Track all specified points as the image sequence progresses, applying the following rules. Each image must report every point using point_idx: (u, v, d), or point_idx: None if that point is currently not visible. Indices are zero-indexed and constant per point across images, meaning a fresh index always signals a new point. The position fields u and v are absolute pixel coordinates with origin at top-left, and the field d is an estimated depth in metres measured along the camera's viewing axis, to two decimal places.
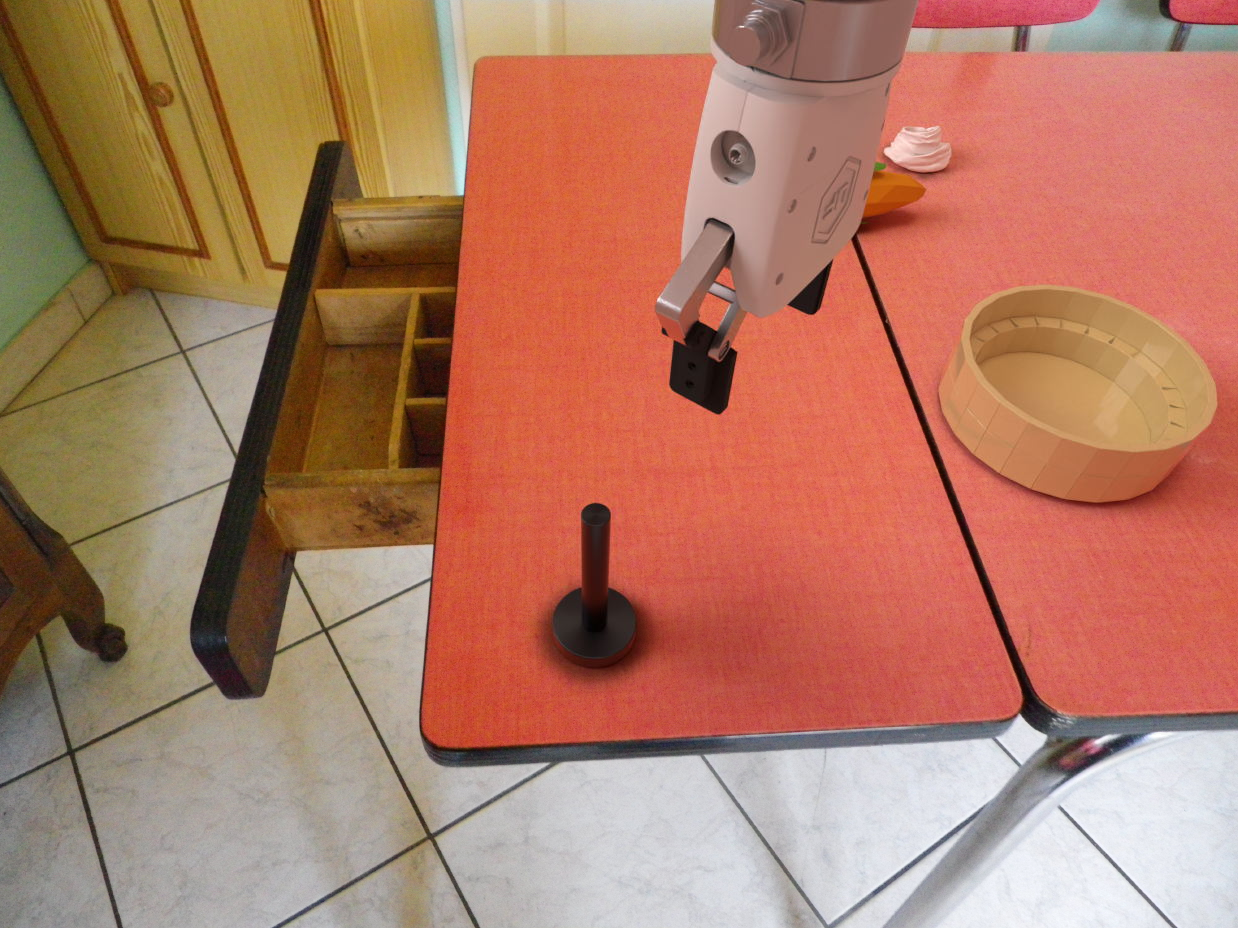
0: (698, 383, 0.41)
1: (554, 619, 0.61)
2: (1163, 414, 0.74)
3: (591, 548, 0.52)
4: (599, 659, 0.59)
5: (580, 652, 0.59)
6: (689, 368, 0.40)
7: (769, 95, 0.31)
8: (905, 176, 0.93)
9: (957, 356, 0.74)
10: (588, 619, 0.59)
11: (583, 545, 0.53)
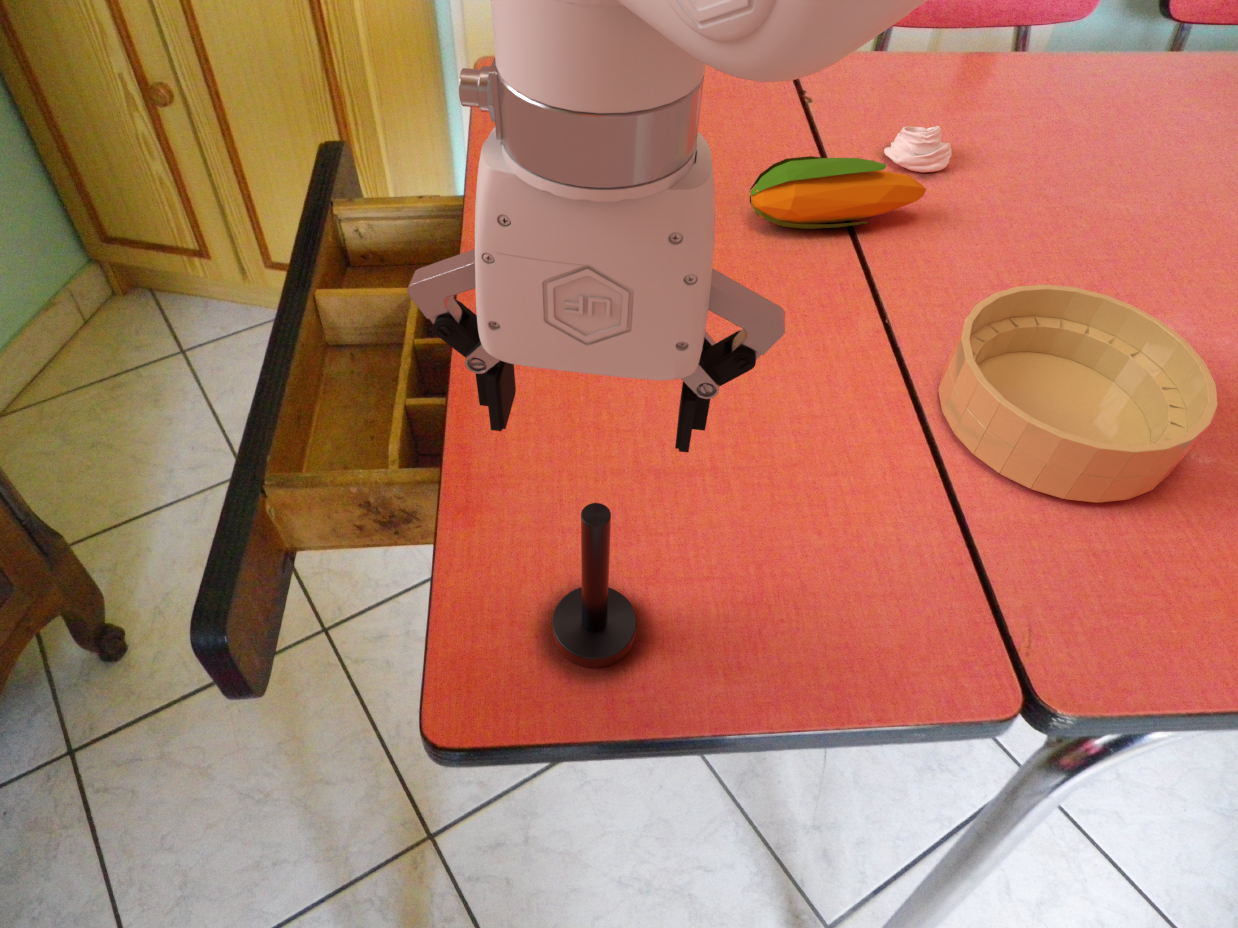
0: None
1: (554, 619, 0.61)
2: (1163, 414, 0.74)
3: (591, 548, 0.52)
4: (599, 659, 0.59)
5: (580, 652, 0.59)
6: None
7: (491, 147, 0.33)
8: (905, 176, 0.93)
9: (957, 356, 0.74)
10: (588, 619, 0.59)
11: (583, 545, 0.53)
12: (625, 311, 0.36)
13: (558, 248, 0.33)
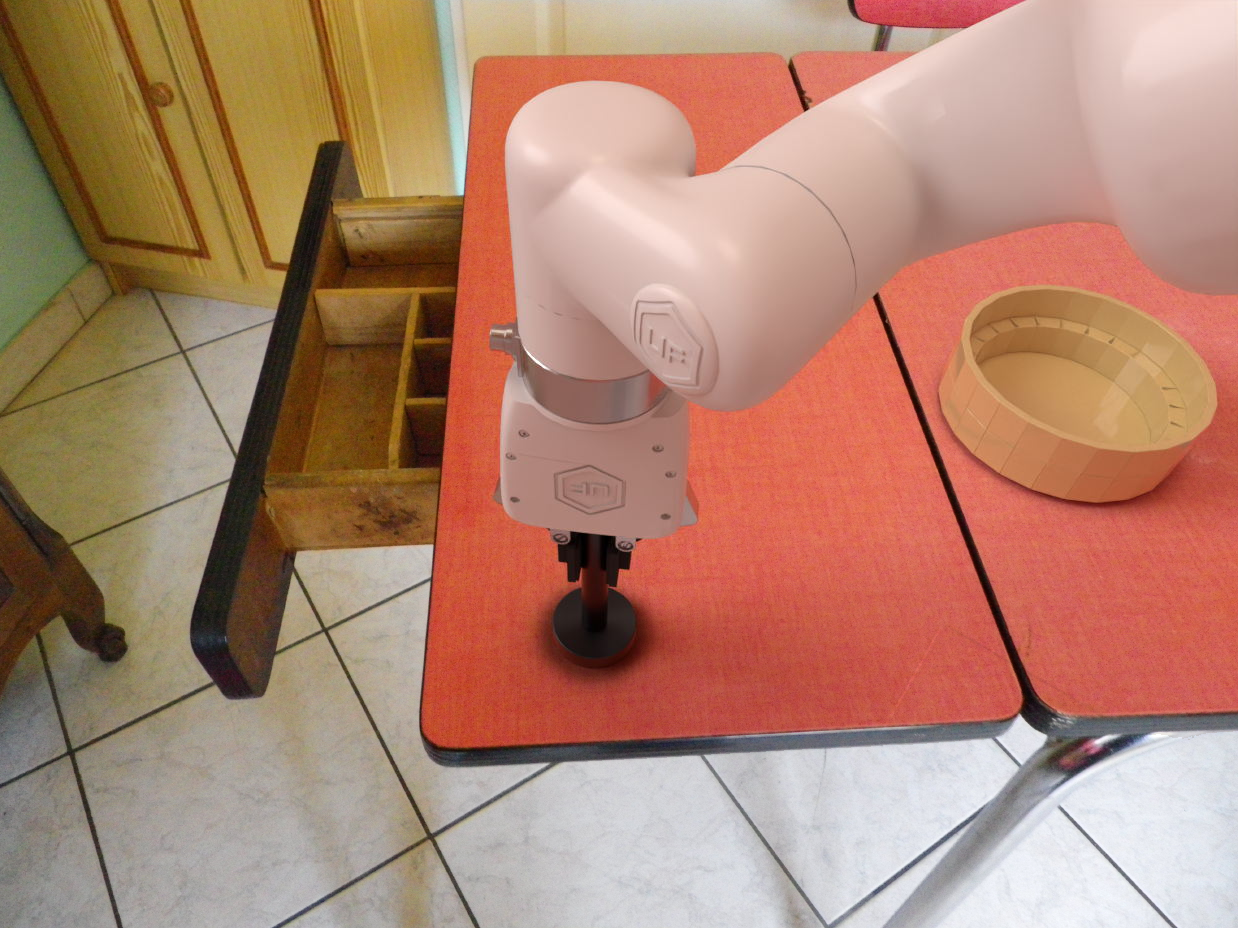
0: None
1: (554, 619, 0.61)
2: (1163, 414, 0.74)
3: (591, 548, 0.52)
4: (599, 659, 0.59)
5: (580, 652, 0.59)
6: None
7: (513, 378, 0.42)
8: None
9: (957, 356, 0.74)
10: (588, 619, 0.59)
11: (583, 545, 0.53)
12: (619, 493, 0.45)
13: (566, 453, 0.43)
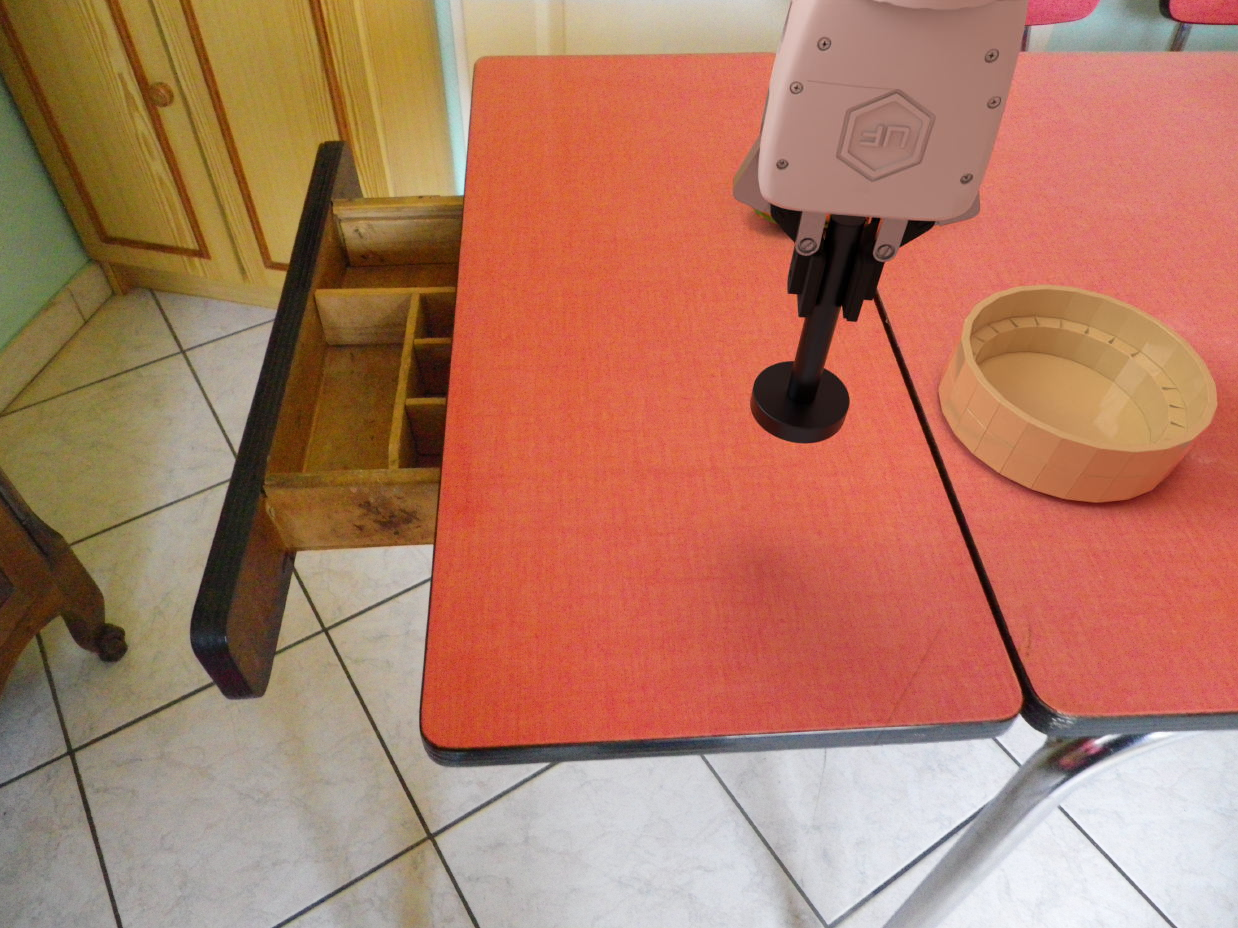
0: (792, 274, 0.46)
1: (755, 392, 0.53)
2: (1163, 414, 0.74)
3: (836, 264, 0.44)
4: (815, 429, 0.51)
5: (792, 422, 0.51)
6: (794, 257, 0.46)
7: None
8: None
9: (957, 356, 0.74)
10: (801, 384, 0.51)
11: None
12: (921, 141, 0.37)
13: (873, 71, 0.35)
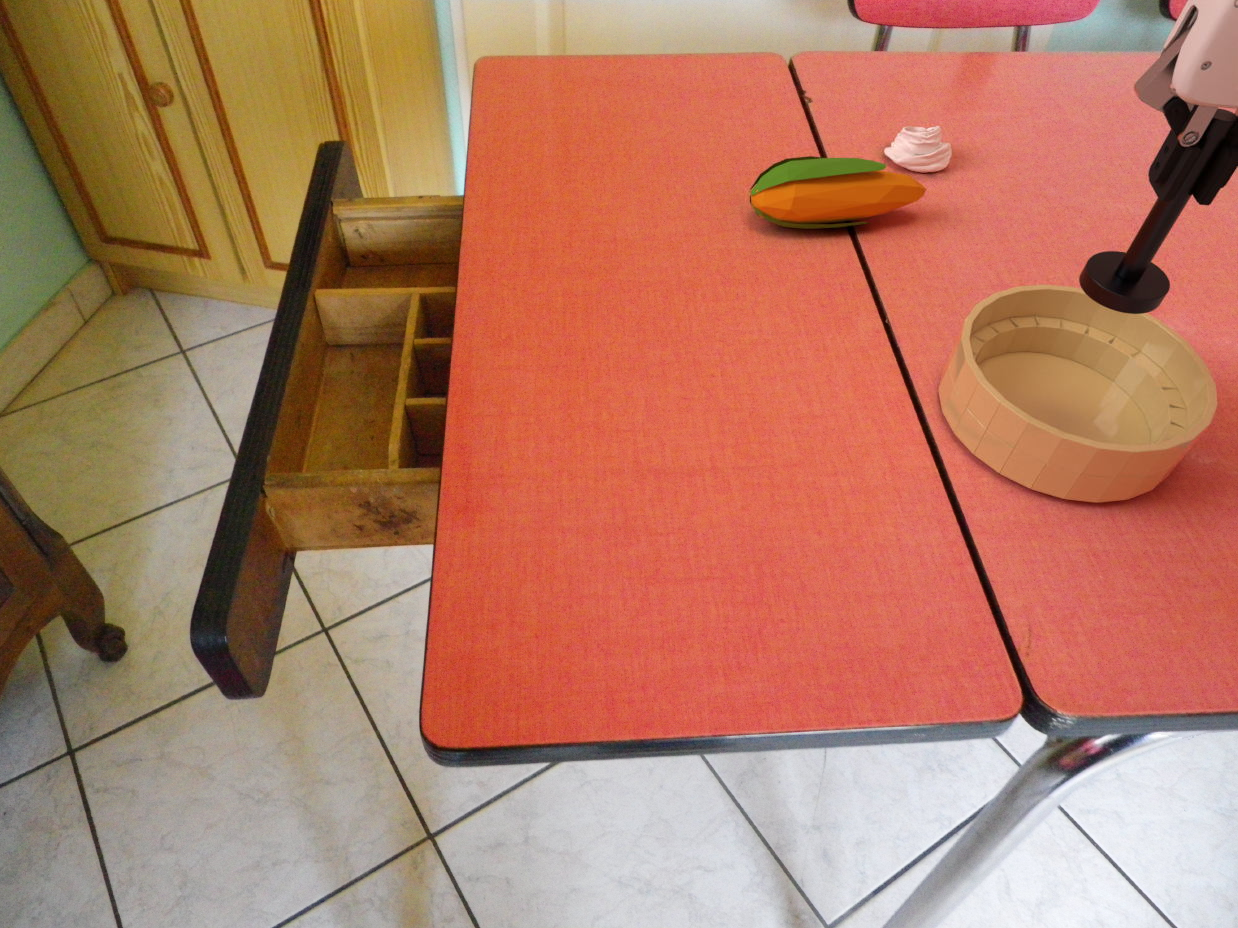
0: (1162, 165, 0.57)
1: (1090, 273, 0.64)
2: (1163, 414, 0.74)
3: (1205, 155, 0.56)
4: (1148, 301, 0.63)
5: (1129, 295, 0.63)
6: (1164, 152, 0.57)
7: None
8: (905, 176, 0.93)
9: (957, 356, 0.74)
10: (1136, 264, 0.63)
11: None
12: None
13: None
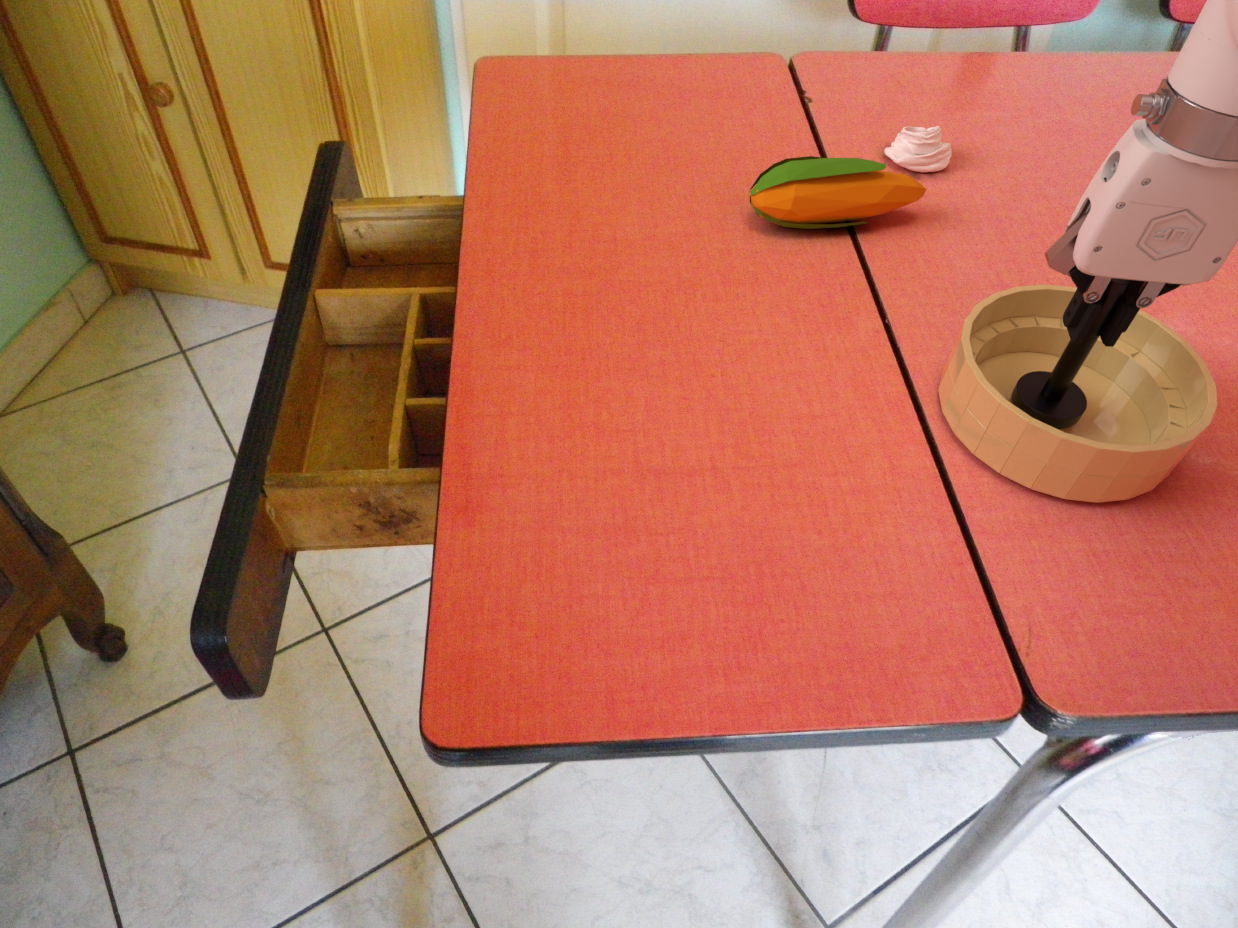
0: (1072, 314, 0.68)
1: (1019, 393, 0.75)
2: (1163, 414, 0.74)
3: (1107, 308, 0.67)
4: (1067, 419, 0.73)
5: (1050, 414, 0.73)
6: (1074, 303, 0.68)
7: (1142, 139, 0.56)
8: (905, 176, 0.93)
9: (957, 356, 0.74)
10: (1057, 388, 0.73)
11: None
12: (1193, 237, 0.59)
13: (1174, 198, 0.57)
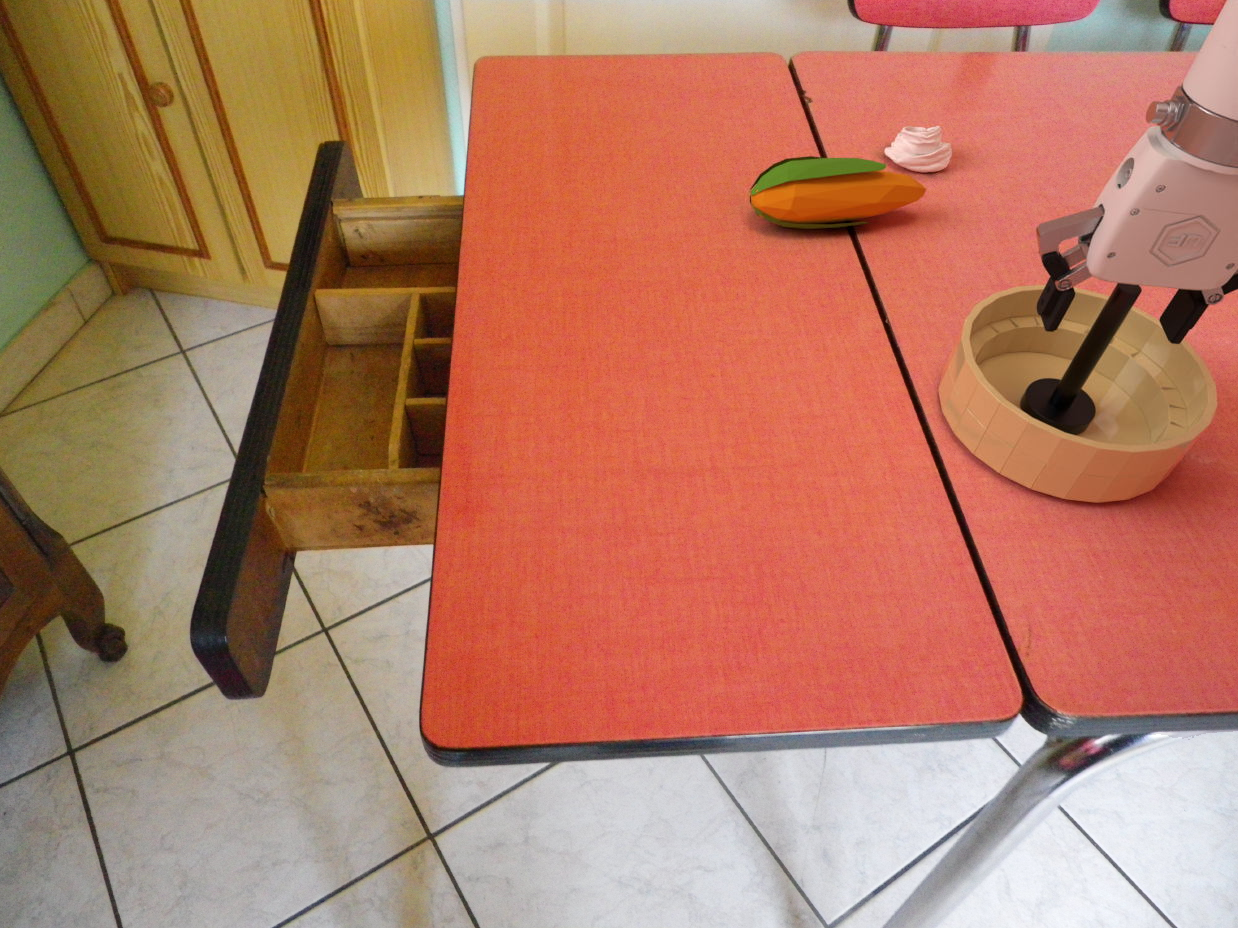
0: (1045, 302, 0.67)
1: (1028, 400, 0.76)
2: (1163, 414, 0.74)
3: (1116, 317, 0.67)
4: (1076, 426, 0.74)
5: (1059, 421, 0.74)
6: (1047, 291, 0.67)
7: (1156, 146, 0.57)
8: (905, 176, 0.93)
9: (957, 356, 0.74)
10: (1066, 395, 0.74)
11: (1107, 316, 0.68)
12: (1207, 244, 0.59)
13: (1188, 205, 0.57)
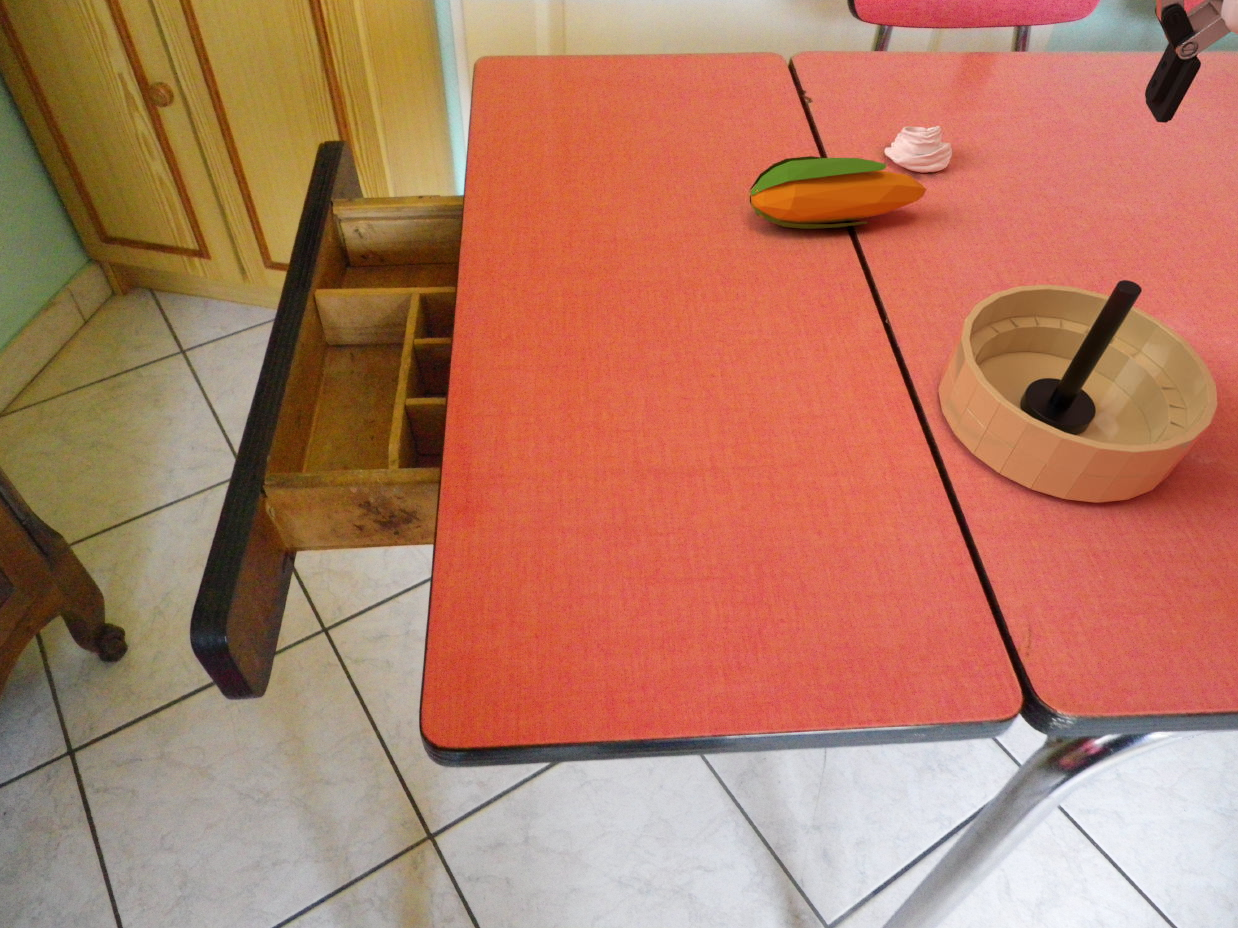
0: (1159, 82, 0.54)
1: (1028, 400, 0.76)
2: (1163, 414, 0.74)
3: (1116, 317, 0.67)
4: (1076, 426, 0.74)
5: (1059, 421, 0.74)
6: (1162, 68, 0.54)
7: None
8: (905, 176, 0.93)
9: (957, 356, 0.74)
10: (1066, 395, 0.74)
11: (1107, 316, 0.68)
12: None
13: None
